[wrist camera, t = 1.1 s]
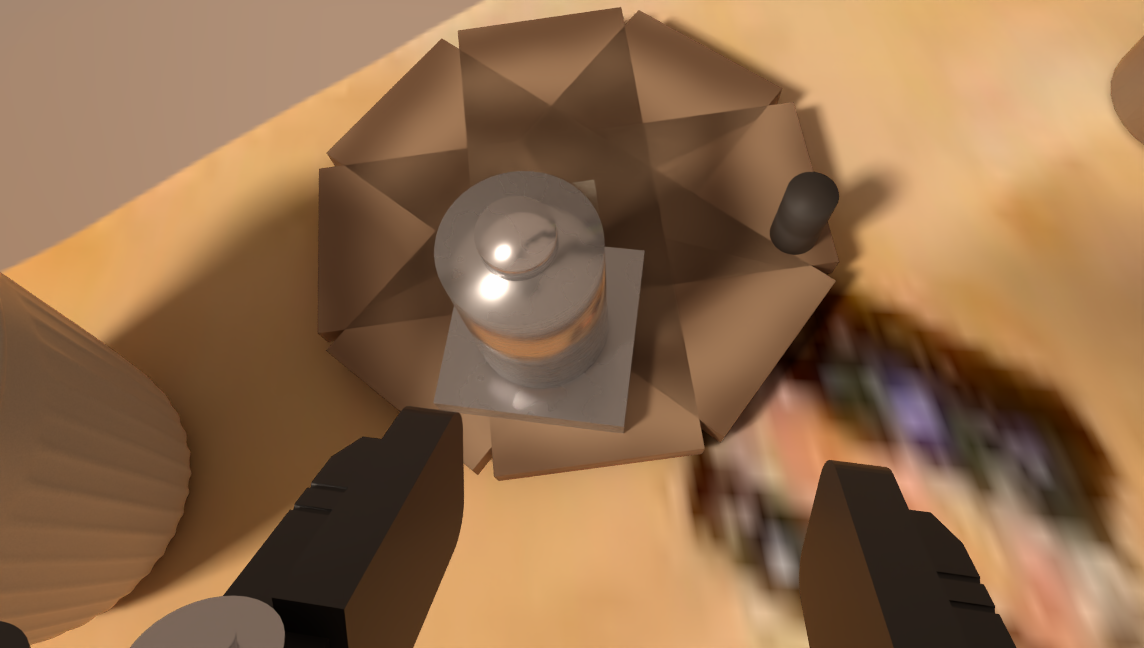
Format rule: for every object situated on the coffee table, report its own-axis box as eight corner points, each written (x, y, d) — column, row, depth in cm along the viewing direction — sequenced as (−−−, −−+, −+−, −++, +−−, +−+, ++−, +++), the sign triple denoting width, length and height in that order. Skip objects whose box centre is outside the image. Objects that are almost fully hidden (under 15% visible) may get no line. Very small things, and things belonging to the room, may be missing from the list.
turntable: (532, -32, 46) (521, -108, 41) (909, 177, 39) (952, 116, 34) (230, 272, 40) (173, 225, 35) (616, 588, 33) (615, 587, 28)
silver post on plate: (474, 246, 38) (420, 118, 28) (643, 263, 37) (652, 137, 27) (440, 410, 35) (365, 334, 25) (623, 433, 34) (625, 364, 24)
